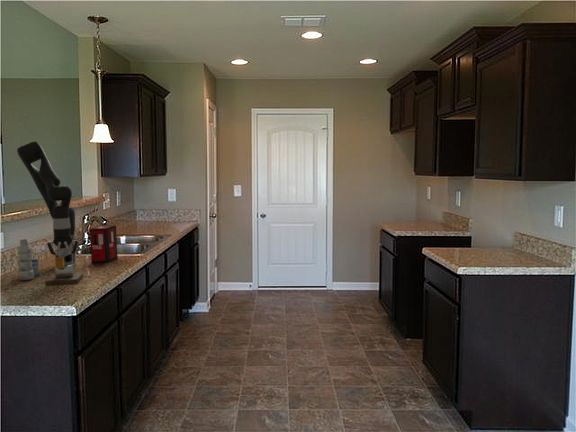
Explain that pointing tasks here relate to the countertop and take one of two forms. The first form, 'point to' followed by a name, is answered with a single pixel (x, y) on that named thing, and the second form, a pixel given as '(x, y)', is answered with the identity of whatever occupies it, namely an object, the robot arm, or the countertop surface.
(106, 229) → the cleaning product box
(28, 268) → the plastic bottle
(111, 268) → the countertop surface
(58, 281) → the coupling base
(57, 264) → the grey piece
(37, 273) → the medicine box
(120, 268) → the countertop surface
